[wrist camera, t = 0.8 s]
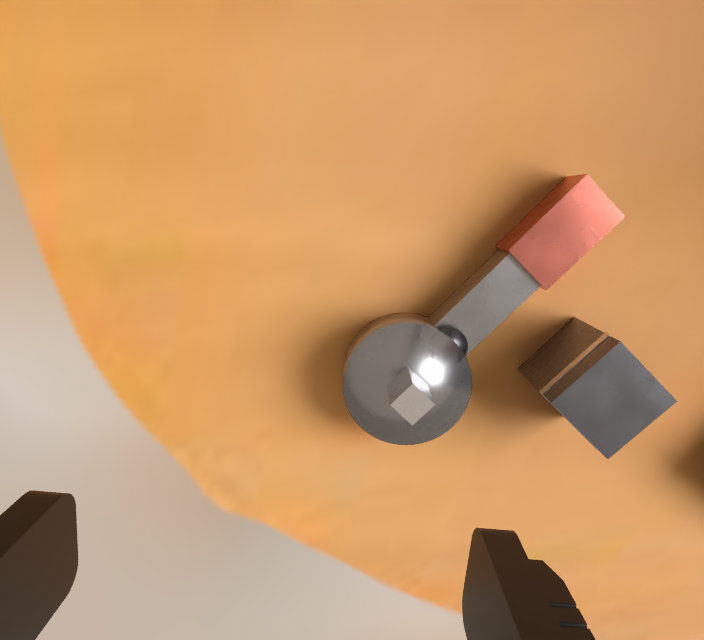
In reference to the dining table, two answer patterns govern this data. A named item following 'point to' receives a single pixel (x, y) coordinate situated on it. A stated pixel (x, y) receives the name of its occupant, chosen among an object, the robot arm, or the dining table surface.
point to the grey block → (597, 385)
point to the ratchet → (466, 320)
